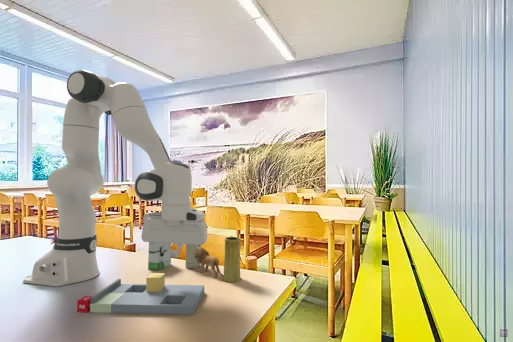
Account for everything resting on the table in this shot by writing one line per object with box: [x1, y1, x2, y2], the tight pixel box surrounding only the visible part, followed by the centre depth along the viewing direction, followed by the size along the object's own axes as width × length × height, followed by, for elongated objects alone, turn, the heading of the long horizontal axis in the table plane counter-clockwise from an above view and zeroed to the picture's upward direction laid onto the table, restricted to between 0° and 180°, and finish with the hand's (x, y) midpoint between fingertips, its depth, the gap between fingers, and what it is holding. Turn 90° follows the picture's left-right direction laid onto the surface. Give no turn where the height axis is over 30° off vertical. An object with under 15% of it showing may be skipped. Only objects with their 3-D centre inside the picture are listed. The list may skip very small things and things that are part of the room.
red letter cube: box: [76, 295, 94, 314], centre depth 75 cm, size 3×3×3 cm
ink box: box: [147, 242, 172, 271], centre depth 112 cm, size 9×5×12 cm, turn 161°
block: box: [145, 272, 166, 292], centre depth 84 cm, size 4×4×4 cm
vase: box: [222, 236, 242, 283], centre depth 99 cm, size 6×6×14 cm
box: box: [185, 244, 202, 269], centre depth 113 cm, size 5×4×13 cm
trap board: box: [89, 278, 205, 316], centre depth 80 cm, size 27×14×4 cm, turn 88°
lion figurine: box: [193, 247, 224, 279], centre depth 104 cm, size 15×5×9 cm, turn 54°
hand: (173, 257), depth 89 cm, fingers closed
